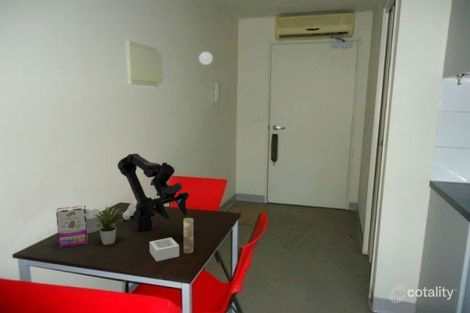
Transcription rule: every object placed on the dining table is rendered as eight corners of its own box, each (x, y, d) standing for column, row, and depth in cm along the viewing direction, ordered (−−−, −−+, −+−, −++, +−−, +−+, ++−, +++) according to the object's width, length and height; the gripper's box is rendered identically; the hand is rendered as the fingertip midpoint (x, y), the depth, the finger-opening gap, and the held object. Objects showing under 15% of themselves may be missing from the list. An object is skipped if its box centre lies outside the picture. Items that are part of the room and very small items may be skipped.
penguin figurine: (143, 200, 175) (126, 208, 165) (144, 214, 177) (128, 223, 167) (135, 198, 178) (118, 206, 168) (136, 212, 180) (119, 221, 170)
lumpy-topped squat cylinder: (89, 233, 150) (88, 216, 149) (71, 228, 156) (70, 211, 155) (107, 226, 159) (106, 210, 158) (89, 222, 165) (88, 206, 164)
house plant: (108, 252, 131) (106, 214, 129) (82, 247, 136) (80, 210, 133) (131, 239, 144) (130, 205, 142) (106, 235, 149) (105, 201, 147)
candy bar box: (87, 240, 143) (86, 204, 141) (87, 244, 139) (85, 208, 136) (59, 243, 139) (57, 207, 136) (58, 248, 134) (55, 211, 132)
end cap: (149, 252, 132) (149, 241, 132) (171, 247, 137) (171, 237, 136) (156, 261, 124) (156, 250, 124) (179, 256, 129) (179, 245, 128)
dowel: (184, 253, 131) (184, 221, 129) (183, 249, 135) (182, 218, 133) (194, 252, 132) (194, 220, 130) (192, 248, 136) (192, 217, 134)
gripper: (150, 180, 131) (167, 212, 125) (186, 174, 145) (202, 202, 139) (141, 195, 137) (156, 226, 132) (176, 188, 151) (191, 216, 145)
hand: (177, 217), depth 137 cm, fingers open, 9 cm apart
